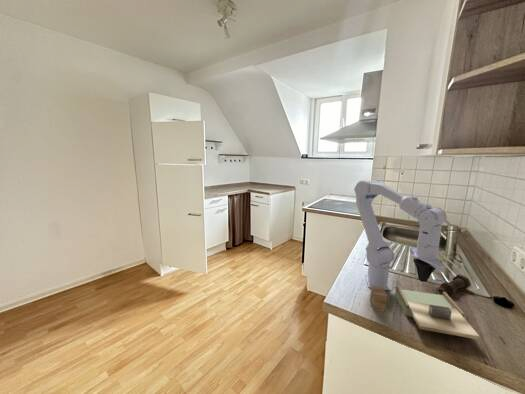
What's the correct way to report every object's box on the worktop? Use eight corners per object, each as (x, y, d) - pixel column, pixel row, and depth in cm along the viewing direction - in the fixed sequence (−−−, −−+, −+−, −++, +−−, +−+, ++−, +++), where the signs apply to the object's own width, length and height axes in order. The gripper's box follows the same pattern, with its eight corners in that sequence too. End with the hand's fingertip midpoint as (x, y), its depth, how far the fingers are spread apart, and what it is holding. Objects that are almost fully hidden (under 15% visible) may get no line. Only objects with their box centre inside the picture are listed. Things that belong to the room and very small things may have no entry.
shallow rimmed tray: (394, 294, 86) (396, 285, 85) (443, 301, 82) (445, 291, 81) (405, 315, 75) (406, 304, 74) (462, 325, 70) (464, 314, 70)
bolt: (437, 299, 86) (459, 288, 92) (452, 300, 82) (473, 288, 88) (431, 283, 88) (452, 274, 94) (444, 283, 83) (466, 273, 89)
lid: (405, 303, 77) (407, 292, 76) (455, 311, 73) (457, 300, 72) (419, 328, 66) (421, 316, 65) (479, 339, 62) (481, 327, 61)
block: (369, 300, 83) (371, 285, 81) (381, 302, 81) (383, 287, 80) (372, 309, 78) (374, 294, 77) (385, 311, 77) (387, 295, 76)
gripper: (403, 235, 82) (399, 269, 84) (430, 252, 67) (424, 292, 70) (423, 236, 81) (418, 270, 84) (454, 253, 67) (447, 293, 70)
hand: (422, 280), depth 77 cm, fingers closed
